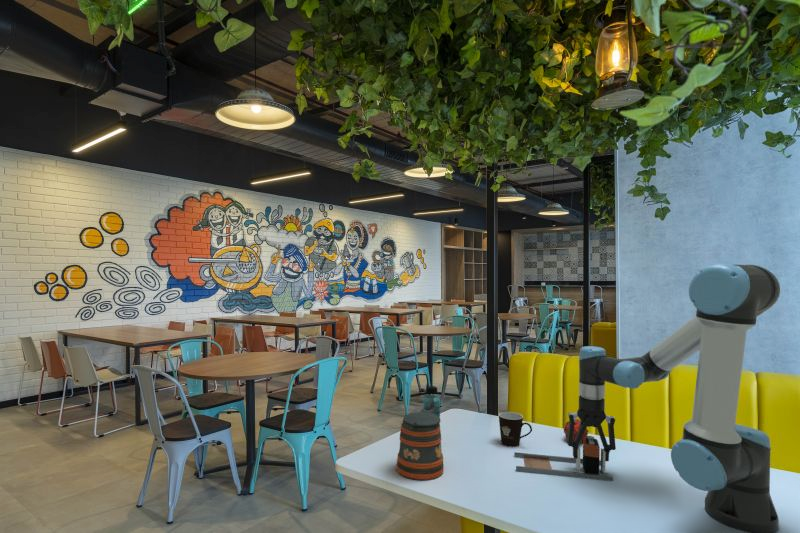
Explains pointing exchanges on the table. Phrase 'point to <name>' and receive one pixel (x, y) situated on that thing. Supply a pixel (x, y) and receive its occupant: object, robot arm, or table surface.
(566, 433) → the dragon fruit
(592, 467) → the battery
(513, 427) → the coffee mug
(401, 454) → the beer stein
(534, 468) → the rail
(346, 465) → the table surface
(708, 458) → the robot arm
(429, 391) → the beverage bottle
